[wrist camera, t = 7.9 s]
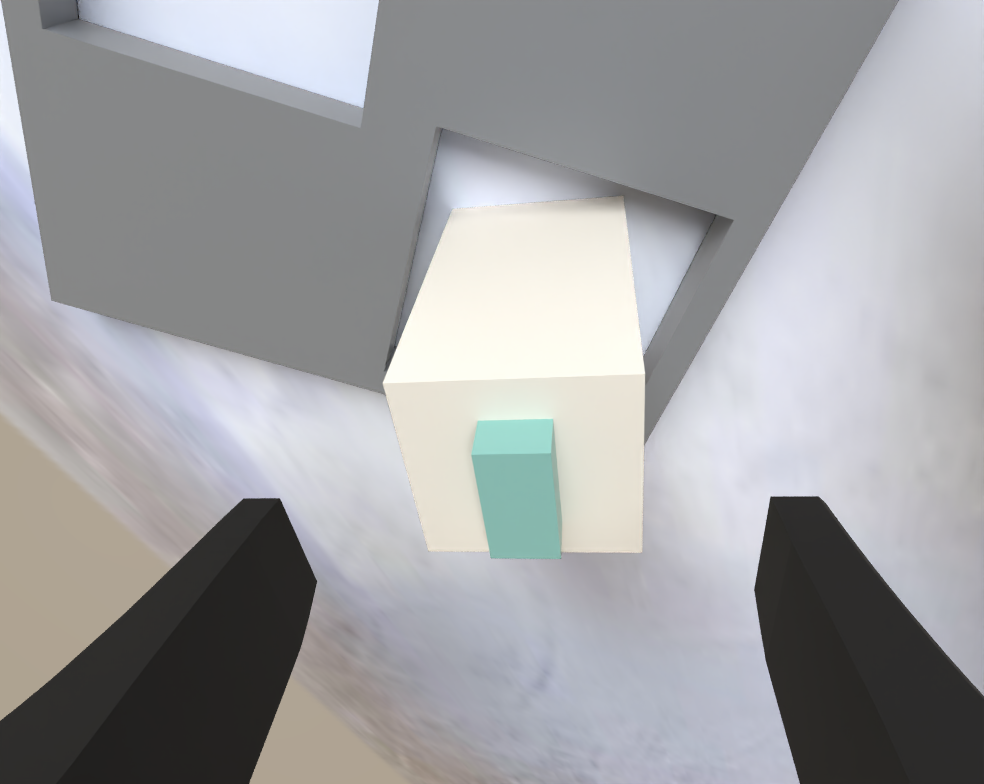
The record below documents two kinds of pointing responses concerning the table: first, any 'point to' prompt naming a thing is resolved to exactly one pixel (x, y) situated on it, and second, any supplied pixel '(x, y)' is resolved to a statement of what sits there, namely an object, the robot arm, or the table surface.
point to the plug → (525, 384)
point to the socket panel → (408, 157)
